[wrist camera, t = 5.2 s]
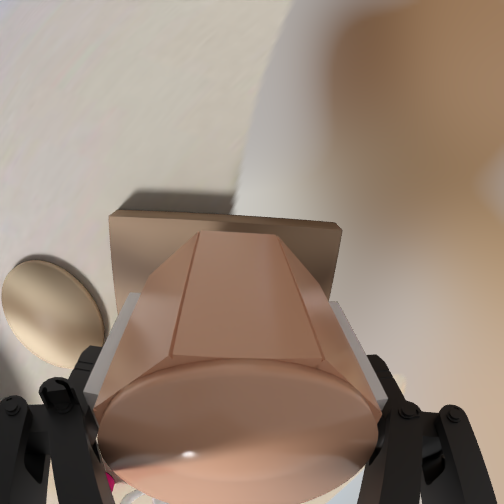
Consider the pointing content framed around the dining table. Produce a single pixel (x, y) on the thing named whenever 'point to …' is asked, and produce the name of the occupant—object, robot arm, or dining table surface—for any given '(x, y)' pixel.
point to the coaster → (51, 312)
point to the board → (188, 224)
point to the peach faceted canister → (235, 381)
